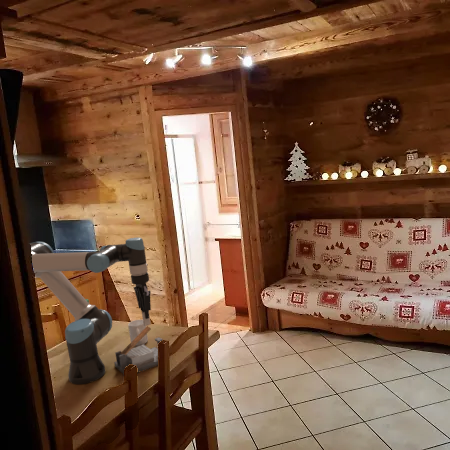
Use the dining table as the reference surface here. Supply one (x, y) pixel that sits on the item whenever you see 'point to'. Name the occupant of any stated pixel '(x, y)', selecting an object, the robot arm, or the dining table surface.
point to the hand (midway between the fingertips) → (147, 324)
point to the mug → (137, 331)
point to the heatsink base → (138, 358)
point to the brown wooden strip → (135, 341)
